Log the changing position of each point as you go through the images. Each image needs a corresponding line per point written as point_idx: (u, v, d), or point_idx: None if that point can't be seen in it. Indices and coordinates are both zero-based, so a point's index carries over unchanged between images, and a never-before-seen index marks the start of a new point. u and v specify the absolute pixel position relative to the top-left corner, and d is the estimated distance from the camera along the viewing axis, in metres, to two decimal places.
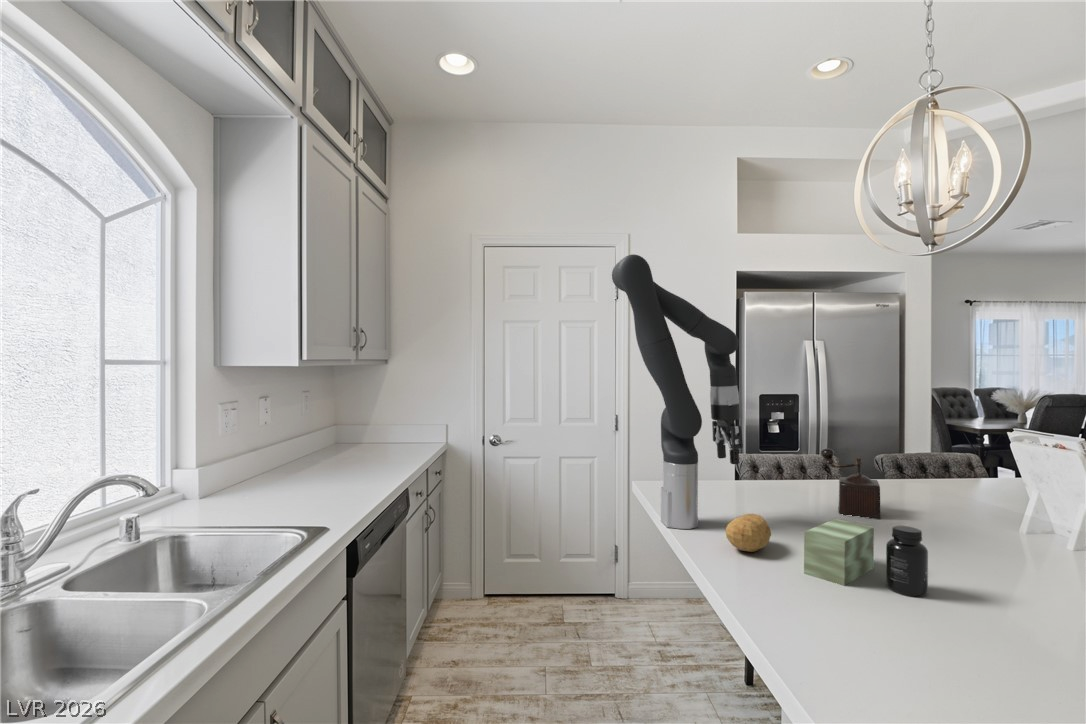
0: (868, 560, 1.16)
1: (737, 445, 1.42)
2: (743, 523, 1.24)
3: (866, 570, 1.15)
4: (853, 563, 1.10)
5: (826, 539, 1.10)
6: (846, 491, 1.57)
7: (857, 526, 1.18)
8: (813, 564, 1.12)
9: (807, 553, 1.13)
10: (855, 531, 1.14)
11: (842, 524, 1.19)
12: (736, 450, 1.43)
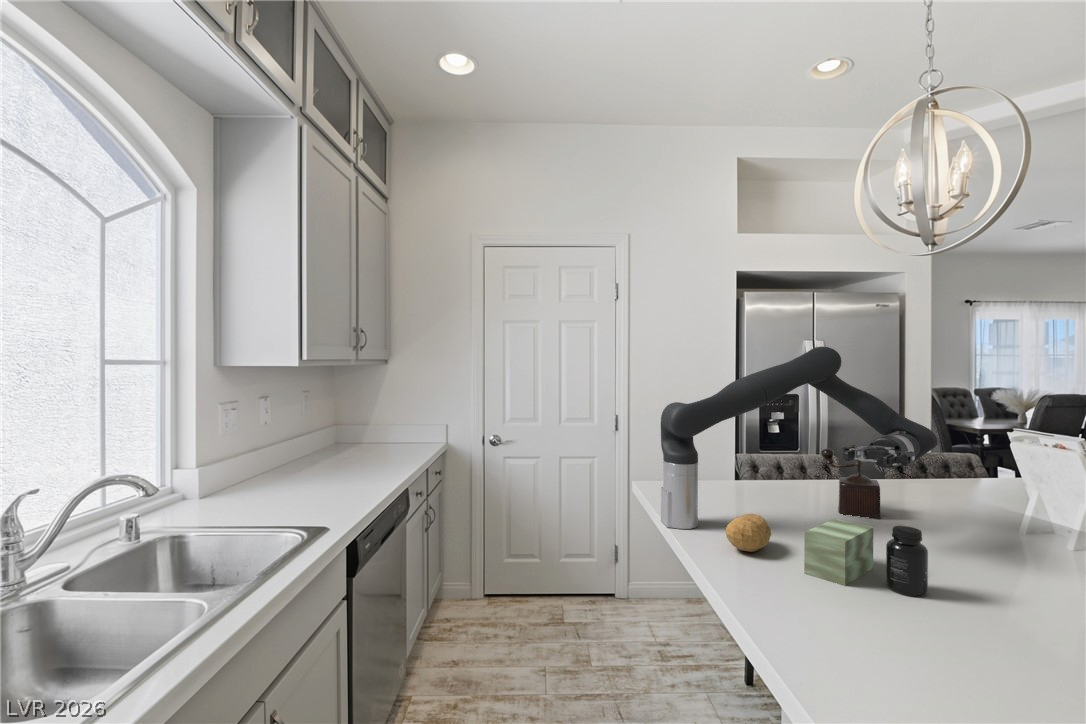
0: (868, 560, 1.16)
1: None
2: (743, 522, 1.24)
3: (866, 570, 1.15)
4: (853, 563, 1.10)
5: (827, 539, 1.10)
6: (846, 491, 1.57)
7: (857, 526, 1.18)
8: (814, 564, 1.12)
9: (807, 554, 1.13)
10: (855, 531, 1.14)
11: (842, 524, 1.19)
12: (896, 460, 1.22)
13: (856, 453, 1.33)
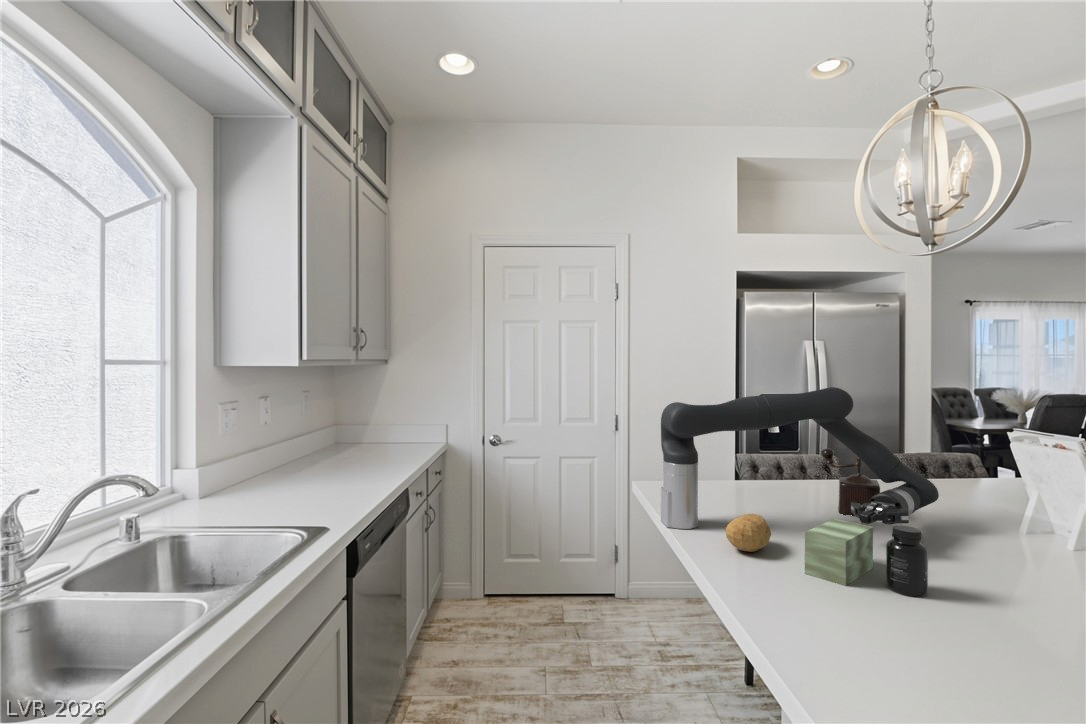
0: (868, 560, 1.16)
1: (887, 517, 1.24)
2: (743, 523, 1.24)
3: (866, 570, 1.15)
4: (853, 563, 1.10)
5: (827, 539, 1.10)
6: (846, 491, 1.57)
7: (856, 526, 1.18)
8: (814, 564, 1.12)
9: (808, 554, 1.13)
10: (855, 531, 1.14)
11: (841, 524, 1.19)
12: None
13: None
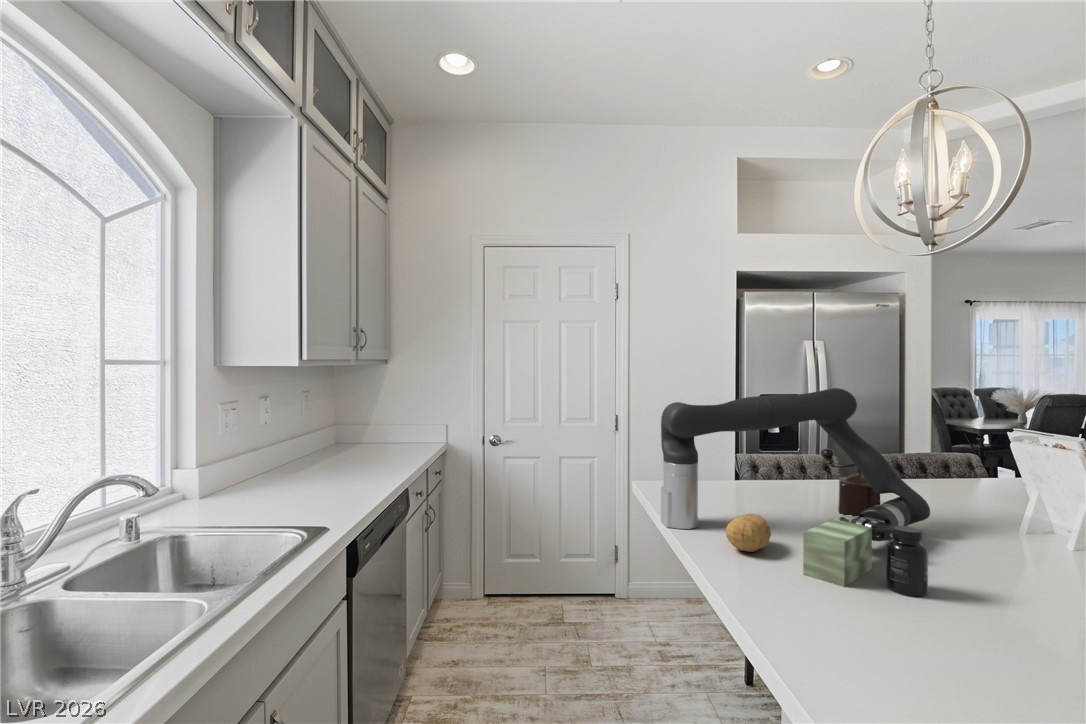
0: (867, 560, 1.15)
1: (876, 534, 1.21)
2: (743, 523, 1.24)
3: (865, 570, 1.14)
4: (852, 563, 1.10)
5: (826, 539, 1.10)
6: (846, 491, 1.57)
7: (855, 526, 1.17)
8: (813, 564, 1.12)
9: (806, 554, 1.13)
10: (854, 531, 1.14)
11: (840, 524, 1.19)
12: None
13: None
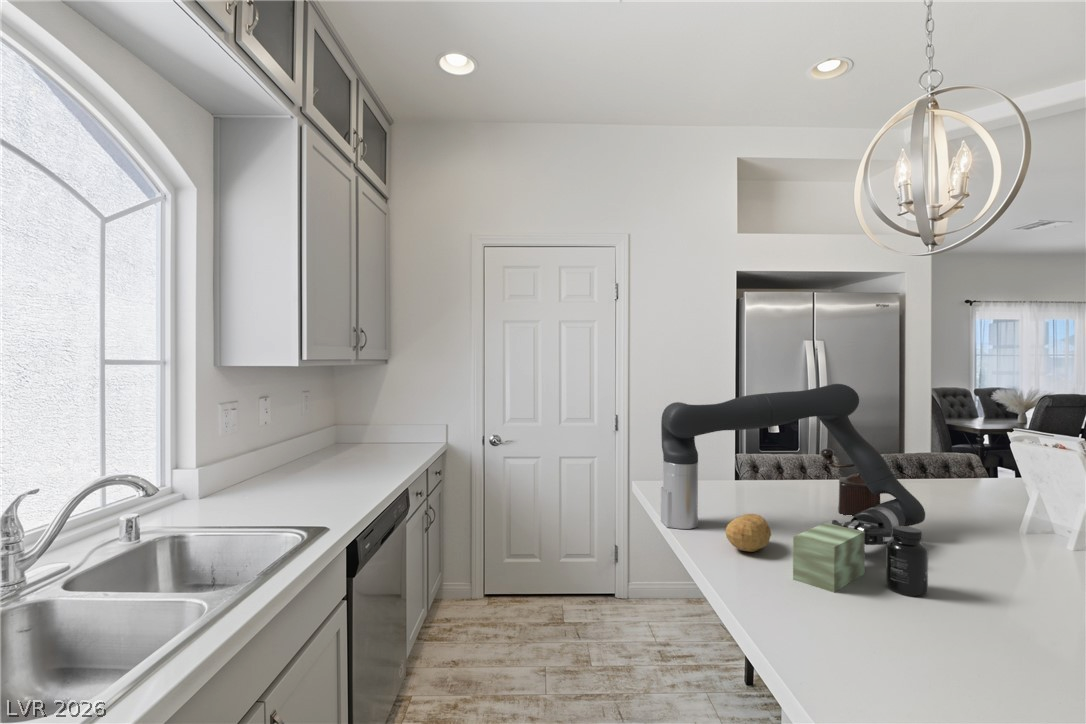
0: (859, 565, 1.12)
1: (869, 538, 1.18)
2: (743, 523, 1.24)
3: (857, 576, 1.12)
4: (843, 569, 1.07)
5: (816, 544, 1.07)
6: (846, 491, 1.57)
7: (848, 530, 1.15)
8: (802, 569, 1.09)
9: (796, 559, 1.10)
10: (845, 536, 1.11)
11: (832, 528, 1.16)
12: None
13: None
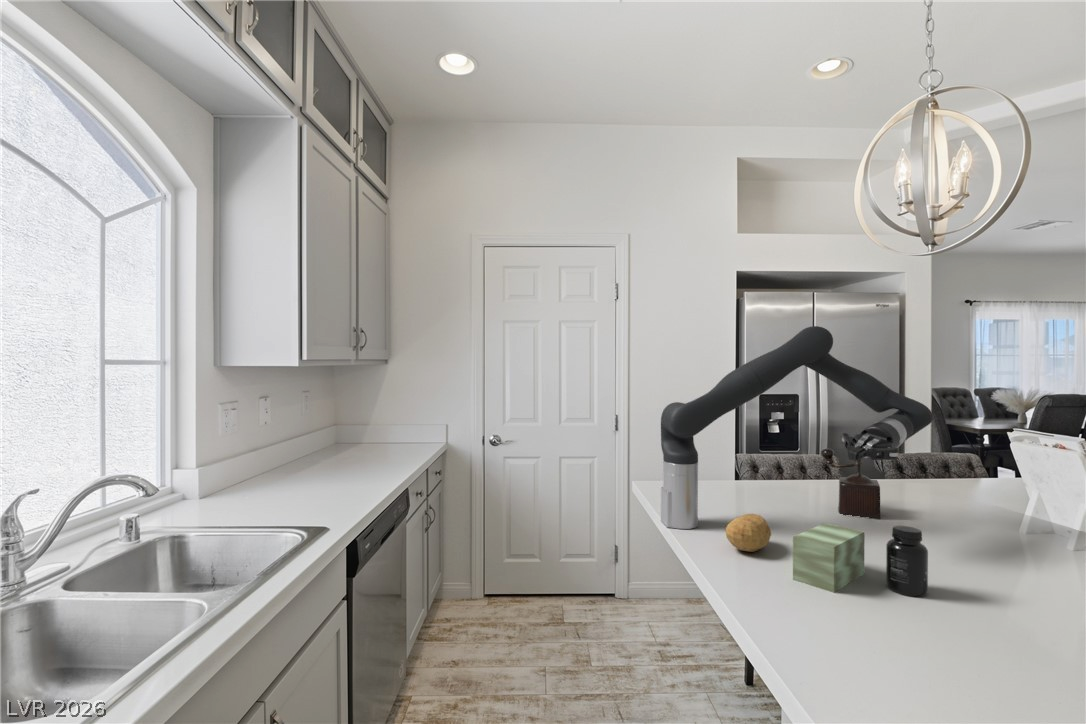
0: (859, 566, 1.12)
1: (876, 454, 1.25)
2: (743, 523, 1.24)
3: (856, 576, 1.12)
4: (842, 569, 1.07)
5: (816, 544, 1.07)
6: (846, 491, 1.57)
7: (847, 530, 1.15)
8: (802, 569, 1.09)
9: (796, 559, 1.10)
10: (845, 536, 1.11)
11: (832, 528, 1.16)
12: None
13: None
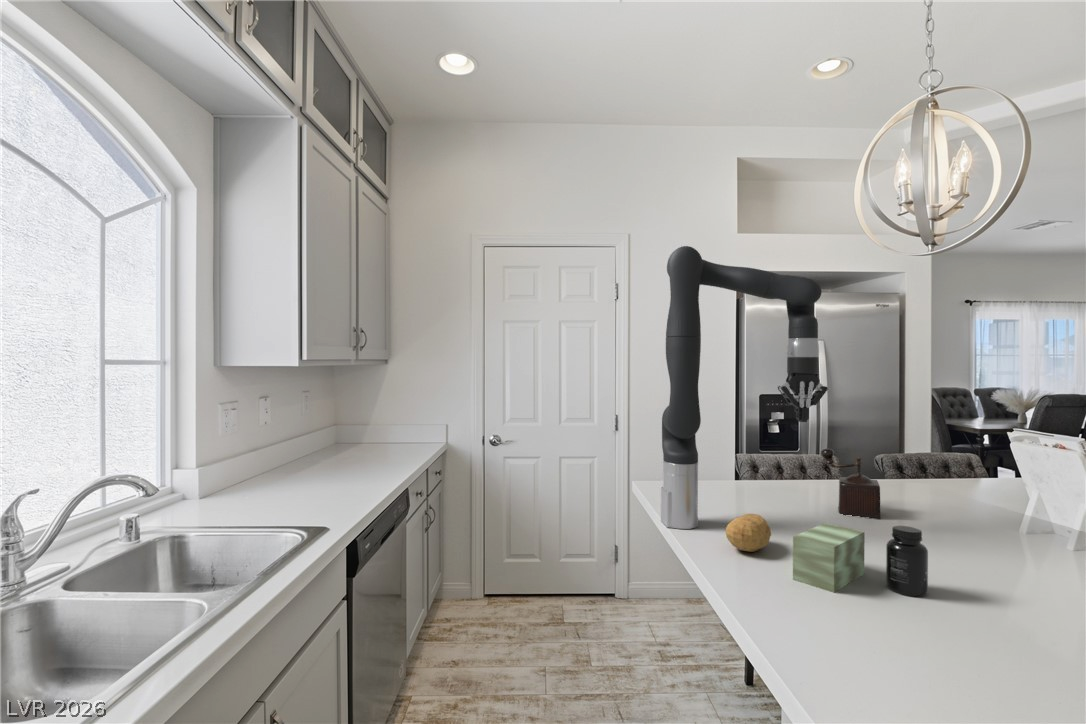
0: (859, 566, 1.12)
1: None
2: (743, 522, 1.24)
3: (856, 576, 1.12)
4: (843, 569, 1.07)
5: (816, 544, 1.07)
6: (846, 491, 1.57)
7: (847, 530, 1.15)
8: (802, 569, 1.09)
9: (796, 559, 1.10)
10: (845, 536, 1.11)
11: (832, 528, 1.16)
12: None
13: None
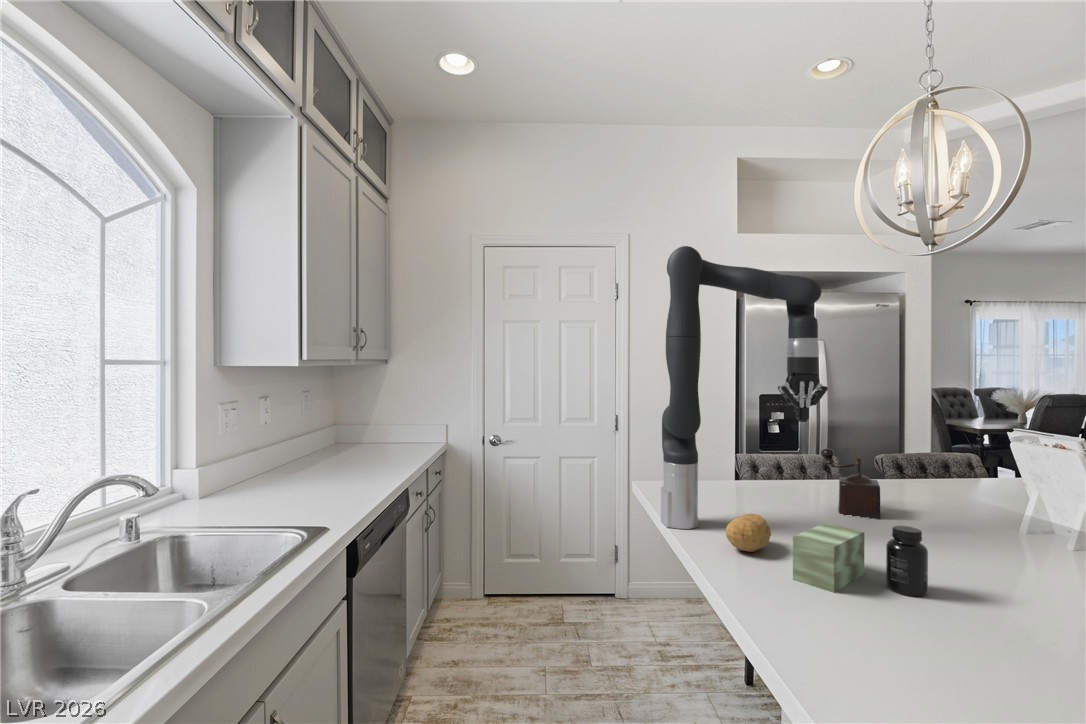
0: (859, 565, 1.12)
1: None
2: (743, 522, 1.24)
3: (856, 576, 1.12)
4: (842, 569, 1.07)
5: (816, 544, 1.07)
6: (846, 491, 1.57)
7: (847, 530, 1.15)
8: (802, 569, 1.09)
9: (796, 559, 1.10)
10: (845, 536, 1.11)
11: (832, 528, 1.16)
12: None
13: None
